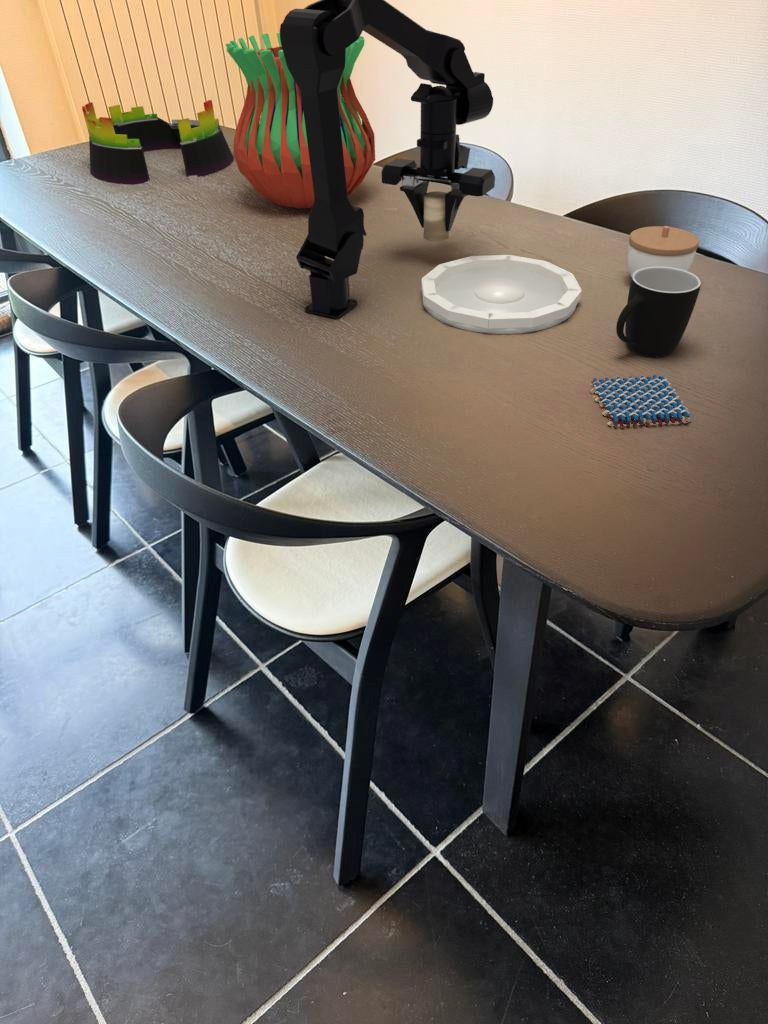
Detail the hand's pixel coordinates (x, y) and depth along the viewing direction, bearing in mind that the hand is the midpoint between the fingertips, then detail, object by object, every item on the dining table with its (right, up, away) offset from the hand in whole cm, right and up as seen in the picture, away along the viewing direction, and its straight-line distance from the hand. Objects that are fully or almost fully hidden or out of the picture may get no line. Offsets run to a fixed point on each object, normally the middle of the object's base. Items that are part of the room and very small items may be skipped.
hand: (436, 229), depth 124 cm
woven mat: (+23, -36, -33) cm, 54 cm away
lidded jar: (+36, -11, -5) cm, 38 cm away
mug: (+28, -26, -22) cm, 45 cm away
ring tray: (+10, -15, -8) cm, 19 cm away
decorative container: (-67, +41, +61) cm, 99 cm away
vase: (-26, +20, +35) cm, 48 cm away
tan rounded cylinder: (0, -1, +1) cm, 1 cm away
